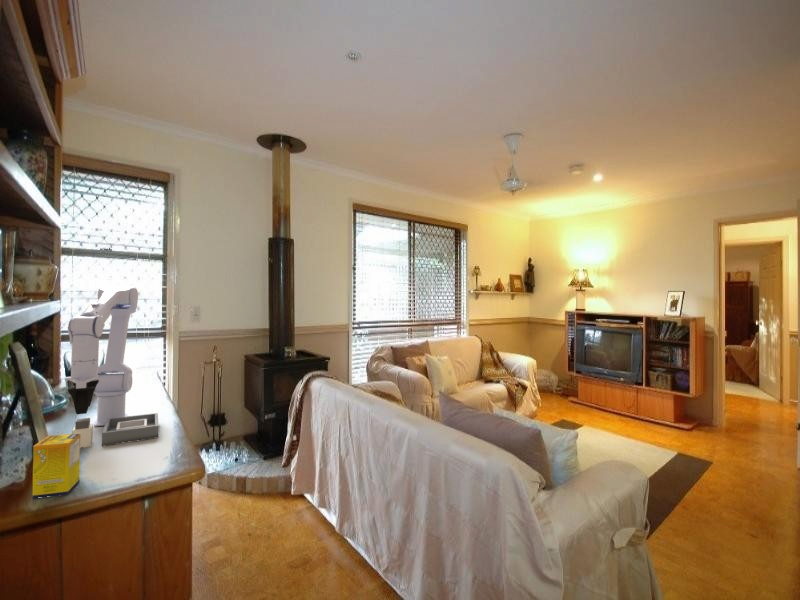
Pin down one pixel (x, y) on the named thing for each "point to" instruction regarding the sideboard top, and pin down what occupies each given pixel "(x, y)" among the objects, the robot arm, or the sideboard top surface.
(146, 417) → the walled box
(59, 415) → the sideboard top surface
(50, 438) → the supplement box
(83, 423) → the connector
